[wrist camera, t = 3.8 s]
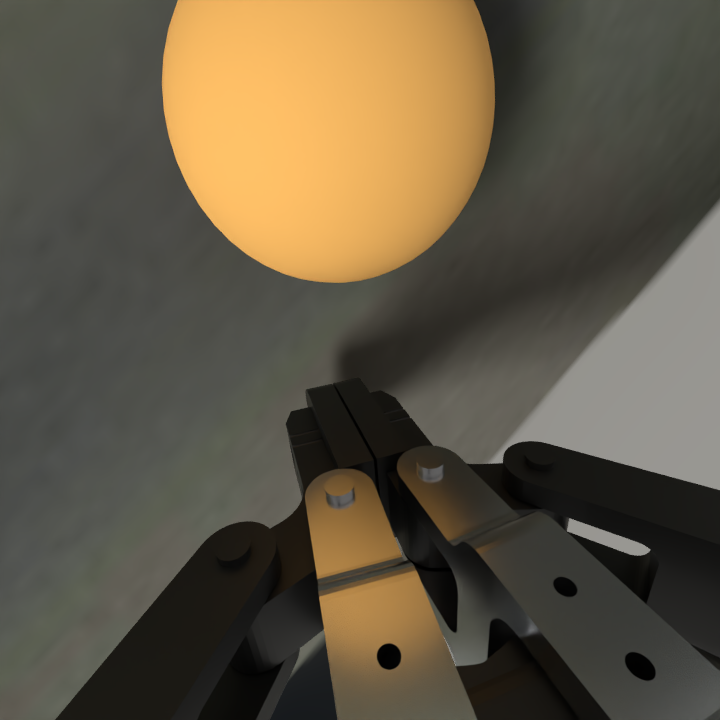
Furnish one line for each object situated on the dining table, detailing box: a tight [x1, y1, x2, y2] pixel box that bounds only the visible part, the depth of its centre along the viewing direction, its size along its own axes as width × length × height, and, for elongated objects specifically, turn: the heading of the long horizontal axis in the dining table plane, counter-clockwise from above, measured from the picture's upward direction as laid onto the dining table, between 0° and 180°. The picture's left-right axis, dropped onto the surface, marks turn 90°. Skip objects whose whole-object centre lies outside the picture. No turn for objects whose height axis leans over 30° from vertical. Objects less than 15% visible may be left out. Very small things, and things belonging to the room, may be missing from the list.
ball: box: [162, 0, 495, 283], centre depth 7 cm, size 6×6×6 cm
